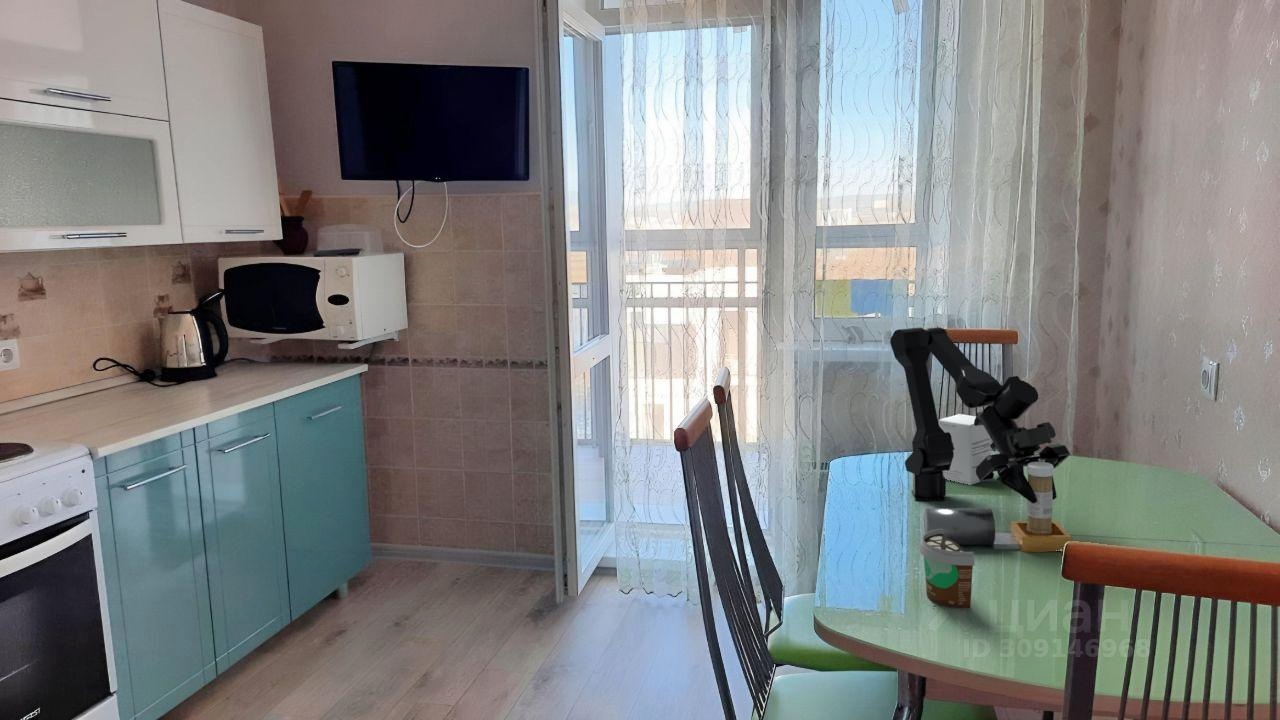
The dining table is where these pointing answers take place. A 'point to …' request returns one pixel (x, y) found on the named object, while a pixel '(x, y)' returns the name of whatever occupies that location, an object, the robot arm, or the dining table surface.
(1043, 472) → the sprinkles bottle
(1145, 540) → the dining table surface
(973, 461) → the supplement box
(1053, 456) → the robot arm
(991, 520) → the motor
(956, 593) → the food container
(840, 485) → the dining table surface
